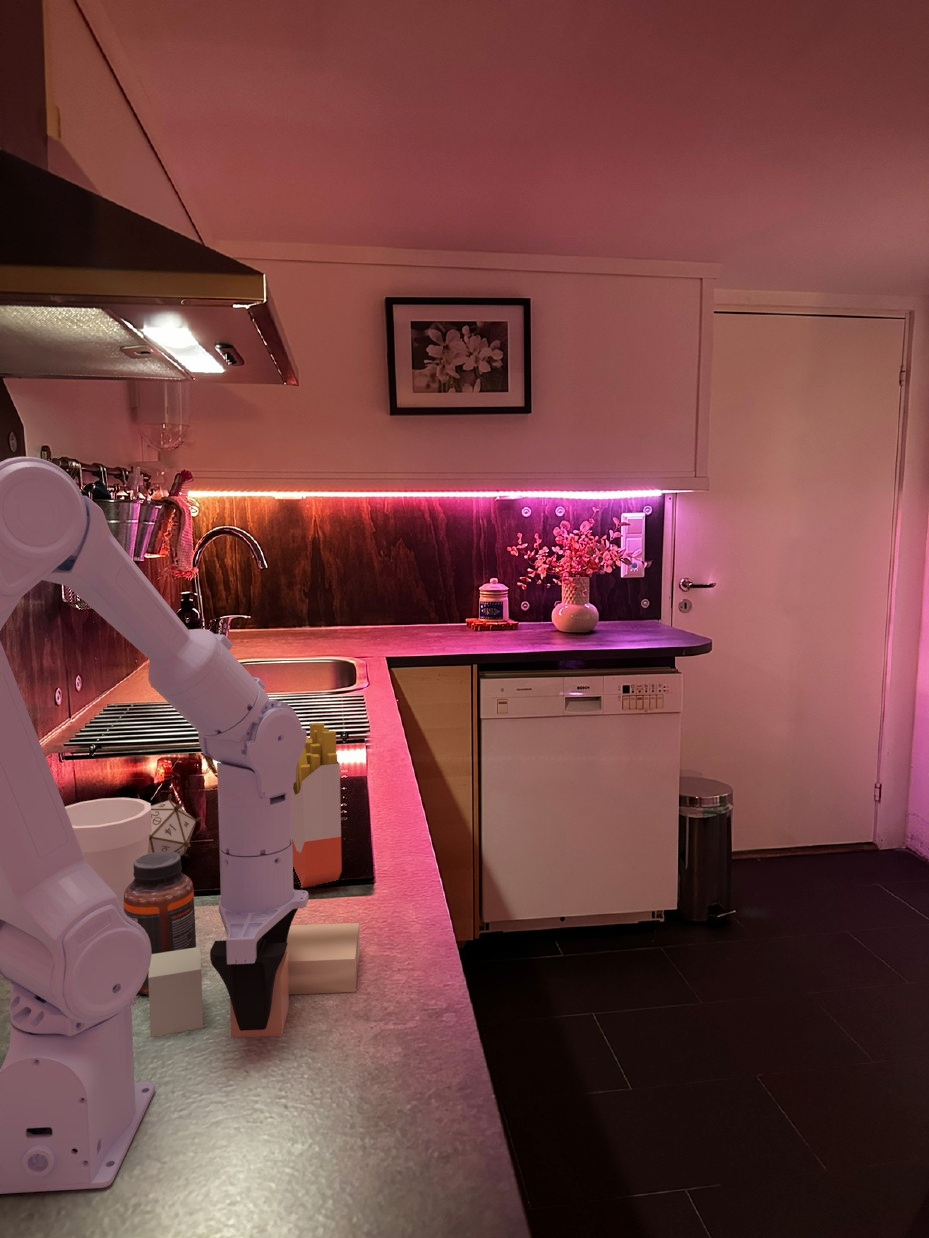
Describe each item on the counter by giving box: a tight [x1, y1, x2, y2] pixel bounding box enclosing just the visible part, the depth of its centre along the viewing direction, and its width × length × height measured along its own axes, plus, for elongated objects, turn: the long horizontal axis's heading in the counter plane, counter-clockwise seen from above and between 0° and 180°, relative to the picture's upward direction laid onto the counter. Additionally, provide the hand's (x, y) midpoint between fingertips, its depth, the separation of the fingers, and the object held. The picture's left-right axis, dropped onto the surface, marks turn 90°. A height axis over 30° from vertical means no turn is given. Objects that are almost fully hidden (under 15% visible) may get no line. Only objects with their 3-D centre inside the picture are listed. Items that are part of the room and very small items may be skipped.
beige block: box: [148, 946, 204, 1038], centre depth 68 cm, size 4×4×5 cm
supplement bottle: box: [124, 851, 197, 995], centre depth 74 cm, size 6×6×11 cm
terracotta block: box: [229, 952, 290, 1039], centre depth 67 cm, size 4×4×5 cm
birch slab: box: [285, 922, 361, 996], centre depth 75 cm, size 7×7×3 cm
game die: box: [148, 793, 204, 858], centre depth 102 cm, size 9×8×10 cm
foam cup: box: [65, 797, 152, 912], centre depth 82 cm, size 10×9×13 cm
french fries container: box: [291, 722, 343, 889], centre depth 97 cm, size 5×11×18 cm, turn 22°
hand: (260, 1005), depth 68 cm, fingers open, 6 cm apart
